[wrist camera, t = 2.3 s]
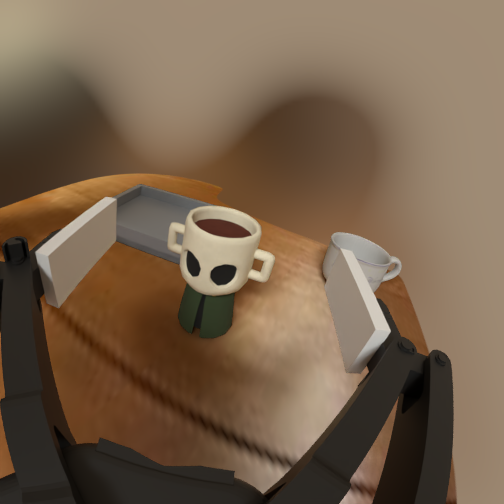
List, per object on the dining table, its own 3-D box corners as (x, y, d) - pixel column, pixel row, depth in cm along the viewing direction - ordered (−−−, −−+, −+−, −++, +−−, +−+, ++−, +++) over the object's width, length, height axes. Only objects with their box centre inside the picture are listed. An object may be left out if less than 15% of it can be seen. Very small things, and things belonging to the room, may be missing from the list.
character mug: (148, 323, 30) (153, 217, 23) (174, 289, 36) (187, 194, 29) (240, 359, 29) (276, 257, 22) (255, 317, 35) (286, 224, 29)
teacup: (313, 294, 43) (333, 249, 39) (316, 261, 52) (332, 222, 48) (391, 319, 41) (415, 279, 37) (382, 284, 51) (400, 248, 47)
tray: (84, 228, 42) (84, 212, 41) (138, 196, 58) (140, 183, 56) (212, 276, 40) (216, 258, 39) (243, 228, 56) (246, 214, 54)
